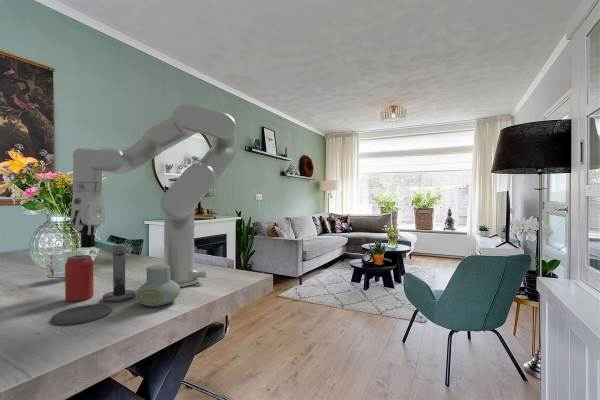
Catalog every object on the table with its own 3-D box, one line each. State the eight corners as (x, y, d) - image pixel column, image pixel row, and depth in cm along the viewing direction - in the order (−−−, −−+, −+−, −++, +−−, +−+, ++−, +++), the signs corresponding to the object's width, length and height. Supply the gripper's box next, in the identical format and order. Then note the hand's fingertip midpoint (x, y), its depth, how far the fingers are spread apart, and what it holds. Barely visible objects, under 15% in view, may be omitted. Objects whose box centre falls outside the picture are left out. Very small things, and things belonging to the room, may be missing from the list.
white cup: (94, 275, 114) (94, 248, 114) (73, 280, 106) (72, 252, 106) (79, 273, 116) (79, 247, 116) (57, 279, 109) (57, 250, 109)
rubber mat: (120, 306, 81) (120, 303, 81) (92, 324, 69) (92, 322, 69) (73, 307, 81) (73, 304, 81) (37, 326, 69) (37, 323, 69)
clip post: (140, 293, 92) (140, 251, 92) (126, 302, 84) (126, 256, 84) (112, 293, 92) (112, 251, 92) (96, 302, 84) (96, 257, 84)
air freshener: (130, 308, 80) (130, 269, 80) (148, 297, 88) (147, 263, 88) (170, 309, 79) (170, 270, 79) (184, 298, 88) (184, 263, 87)
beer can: (99, 295, 90) (98, 254, 90) (80, 303, 84) (80, 259, 84) (78, 294, 91) (78, 254, 91) (58, 302, 84) (58, 258, 84)
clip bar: (127, 253, 88) (127, 245, 88) (115, 254, 86) (115, 246, 86) (99, 246, 102) (99, 238, 102) (88, 247, 99) (88, 239, 99)
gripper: (85, 187, 89) (85, 251, 89) (113, 189, 103) (113, 243, 104) (57, 187, 88) (58, 251, 88) (90, 189, 103) (90, 243, 103)
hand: (87, 247), depth 96 cm, fingers closed
